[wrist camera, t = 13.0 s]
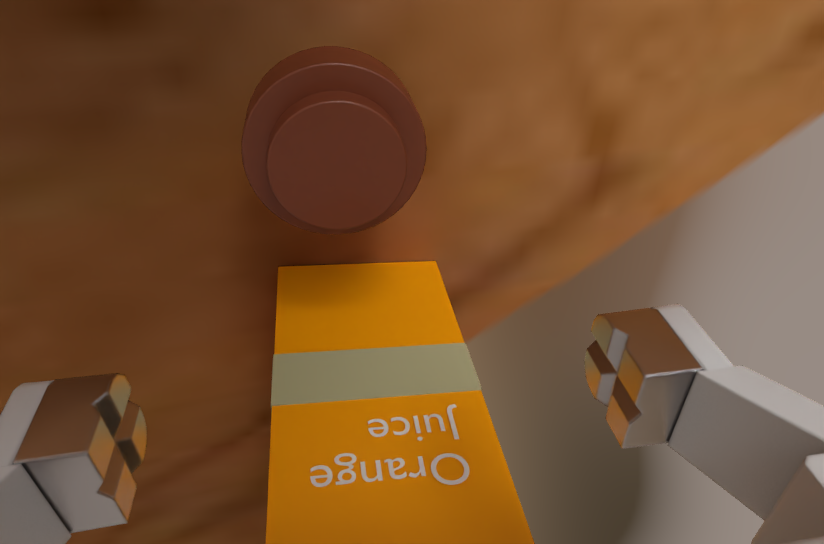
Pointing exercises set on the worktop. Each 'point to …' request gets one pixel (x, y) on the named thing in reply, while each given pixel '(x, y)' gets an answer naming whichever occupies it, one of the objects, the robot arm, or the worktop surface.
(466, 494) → the orange juice
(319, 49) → the brown stepped knob
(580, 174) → the worktop surface
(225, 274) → the worktop surface
